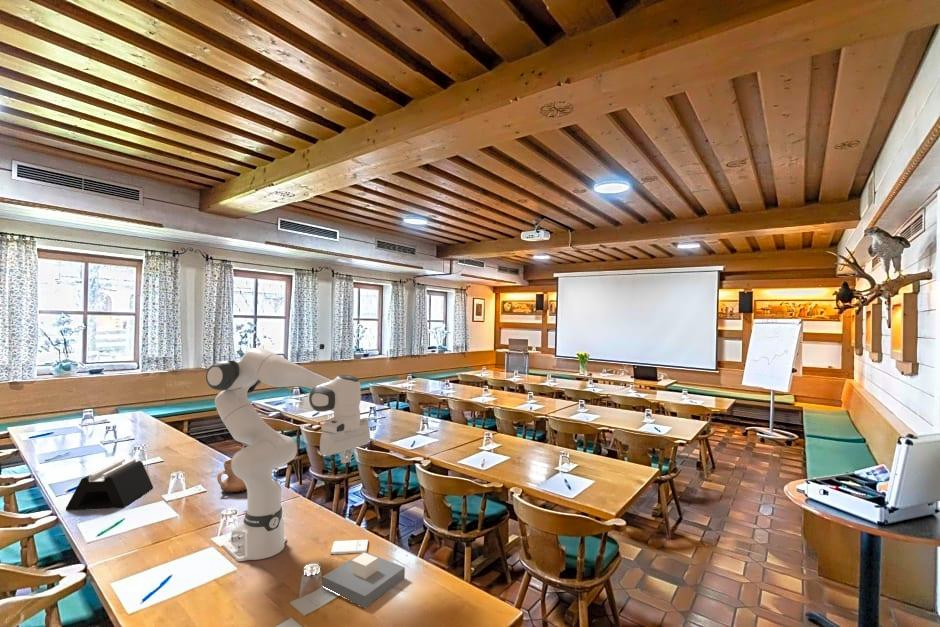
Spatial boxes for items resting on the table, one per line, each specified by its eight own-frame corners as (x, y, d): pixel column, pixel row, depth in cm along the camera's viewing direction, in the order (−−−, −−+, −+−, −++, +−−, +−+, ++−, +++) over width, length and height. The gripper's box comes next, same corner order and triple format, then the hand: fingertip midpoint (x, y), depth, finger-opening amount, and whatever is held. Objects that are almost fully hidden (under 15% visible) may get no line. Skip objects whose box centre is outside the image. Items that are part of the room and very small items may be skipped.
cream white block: (350, 584, 137) (351, 560, 137) (363, 575, 142) (364, 552, 142) (364, 590, 134) (365, 565, 134) (377, 581, 138) (377, 557, 139)
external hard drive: (334, 545, 162) (368, 543, 164) (330, 556, 154) (366, 554, 156) (334, 540, 162) (368, 538, 164) (330, 552, 154) (366, 549, 156)
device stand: (65, 511, 185) (67, 475, 186) (101, 491, 207) (102, 459, 208) (124, 508, 189) (125, 473, 189) (153, 489, 211) (154, 458, 212)
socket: (322, 588, 135) (322, 576, 135) (363, 561, 150) (364, 551, 150) (364, 608, 125) (364, 596, 125) (404, 578, 141) (404, 567, 141)
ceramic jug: (247, 481, 223) (248, 453, 223) (262, 487, 214) (262, 458, 215) (210, 492, 209) (210, 462, 209) (223, 499, 200) (224, 468, 200)
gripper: (361, 416, 162) (360, 453, 161) (317, 426, 144) (316, 468, 144) (374, 418, 158) (373, 456, 158) (330, 429, 141) (329, 472, 140)
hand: (345, 462), depth 151 cm, fingers closed
